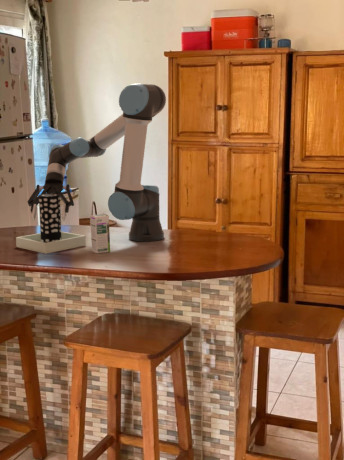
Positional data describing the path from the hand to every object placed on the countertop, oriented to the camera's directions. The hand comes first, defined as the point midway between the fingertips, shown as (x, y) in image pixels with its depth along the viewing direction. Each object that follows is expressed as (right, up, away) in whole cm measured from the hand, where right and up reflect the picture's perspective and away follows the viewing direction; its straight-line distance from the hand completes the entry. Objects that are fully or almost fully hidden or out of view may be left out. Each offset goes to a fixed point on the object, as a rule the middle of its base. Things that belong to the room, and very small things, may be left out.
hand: (48, 218), depth 259 cm
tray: (0, -11, +5) cm, 12 cm away
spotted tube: (0, -10, +5) cm, 11 cm away
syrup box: (+22, -13, -7) cm, 27 cm away
